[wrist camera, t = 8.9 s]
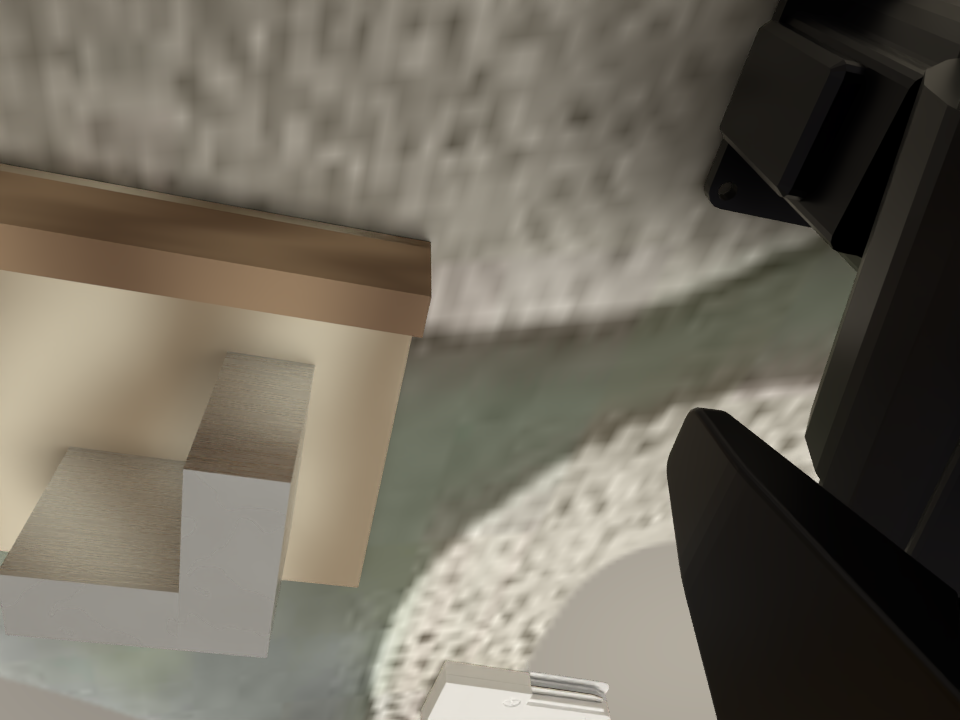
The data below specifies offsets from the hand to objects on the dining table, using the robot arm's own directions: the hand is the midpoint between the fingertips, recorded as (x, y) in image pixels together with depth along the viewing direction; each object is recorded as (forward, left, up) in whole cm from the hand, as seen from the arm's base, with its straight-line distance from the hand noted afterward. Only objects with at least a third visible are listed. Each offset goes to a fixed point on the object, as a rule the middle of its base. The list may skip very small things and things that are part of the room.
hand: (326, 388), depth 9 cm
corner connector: (-10, +26, -13) cm, 31 cm away
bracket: (+4, +11, -12) cm, 17 cm away
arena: (+5, +11, -12) cm, 17 cm away
